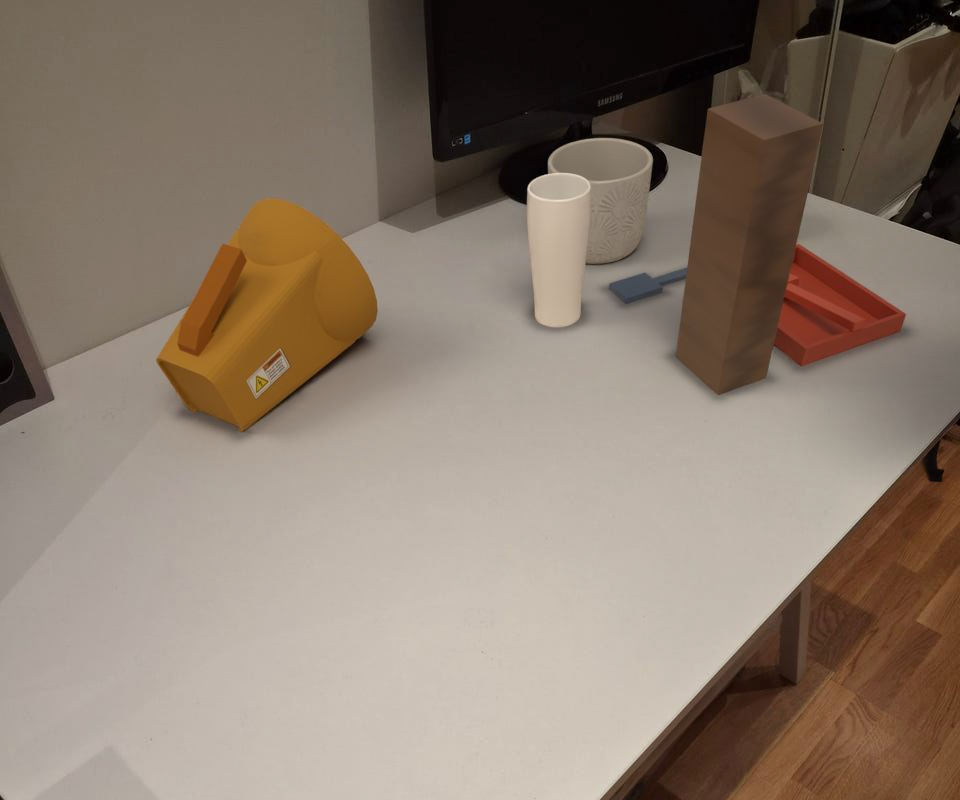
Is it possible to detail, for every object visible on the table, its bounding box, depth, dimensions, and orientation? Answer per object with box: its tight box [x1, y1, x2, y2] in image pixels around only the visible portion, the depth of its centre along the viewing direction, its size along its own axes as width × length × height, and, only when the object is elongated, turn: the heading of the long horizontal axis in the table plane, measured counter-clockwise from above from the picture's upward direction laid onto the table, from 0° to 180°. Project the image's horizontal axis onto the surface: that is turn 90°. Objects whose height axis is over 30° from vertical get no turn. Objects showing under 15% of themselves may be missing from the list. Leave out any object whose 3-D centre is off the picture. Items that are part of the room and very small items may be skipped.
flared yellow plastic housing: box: [155, 197, 378, 433], centre depth 92 cm, size 20×17×18 cm
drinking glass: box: [526, 173, 591, 328], centre depth 96 cm, size 7×7×15 cm
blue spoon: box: [608, 267, 687, 305], centre depth 105 cm, size 4×17×1 cm, turn 115°
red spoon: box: [784, 274, 865, 332], centre depth 97 cm, size 4×17×1 cm, turn 25°
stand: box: [675, 93, 824, 396], centre depth 83 cm, size 6×8×25 cm
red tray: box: [773, 243, 907, 367], centre depth 98 cm, size 13×18×3 cm
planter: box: [547, 137, 654, 265], centre depth 107 cm, size 12×12×11 cm
